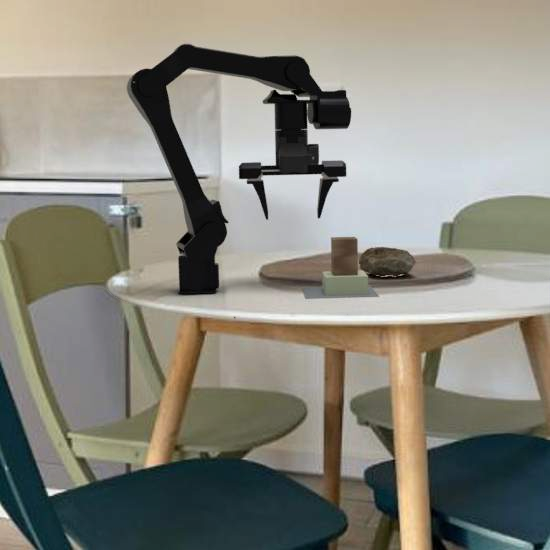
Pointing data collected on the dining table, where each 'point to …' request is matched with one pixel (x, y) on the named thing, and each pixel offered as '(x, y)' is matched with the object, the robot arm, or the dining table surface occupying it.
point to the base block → (345, 284)
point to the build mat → (319, 293)
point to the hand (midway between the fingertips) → (292, 218)
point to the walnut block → (344, 256)
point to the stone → (386, 261)
